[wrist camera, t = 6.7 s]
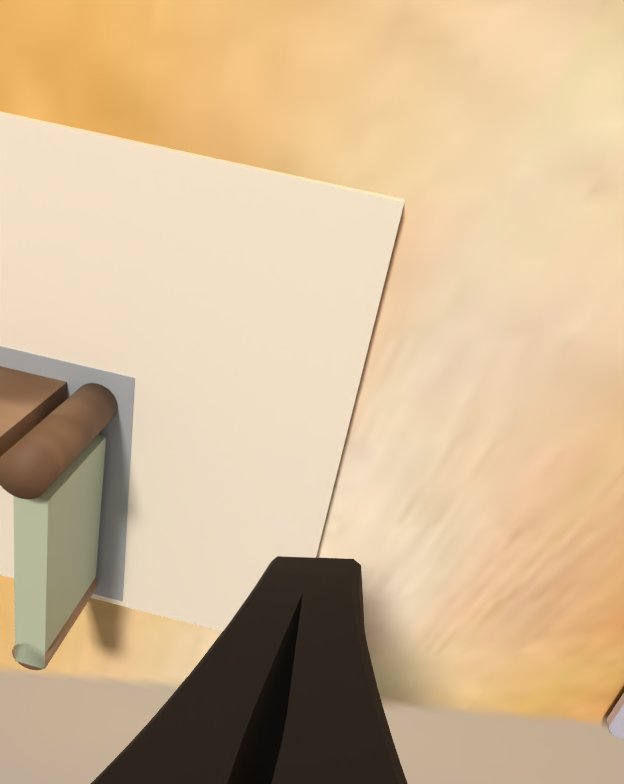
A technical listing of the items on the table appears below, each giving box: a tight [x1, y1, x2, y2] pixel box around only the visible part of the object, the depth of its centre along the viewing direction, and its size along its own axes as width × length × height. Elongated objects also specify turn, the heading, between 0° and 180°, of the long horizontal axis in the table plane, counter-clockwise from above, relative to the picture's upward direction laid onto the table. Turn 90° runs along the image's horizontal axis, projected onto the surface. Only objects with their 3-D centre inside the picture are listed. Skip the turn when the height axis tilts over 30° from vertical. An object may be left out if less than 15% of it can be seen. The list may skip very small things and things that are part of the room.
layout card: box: [0, 112, 405, 632], centre depth 20 cm, size 16×17×1 cm
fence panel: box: [12, 435, 106, 670], centre depth 19 cm, size 7×1×4 cm, turn 167°
